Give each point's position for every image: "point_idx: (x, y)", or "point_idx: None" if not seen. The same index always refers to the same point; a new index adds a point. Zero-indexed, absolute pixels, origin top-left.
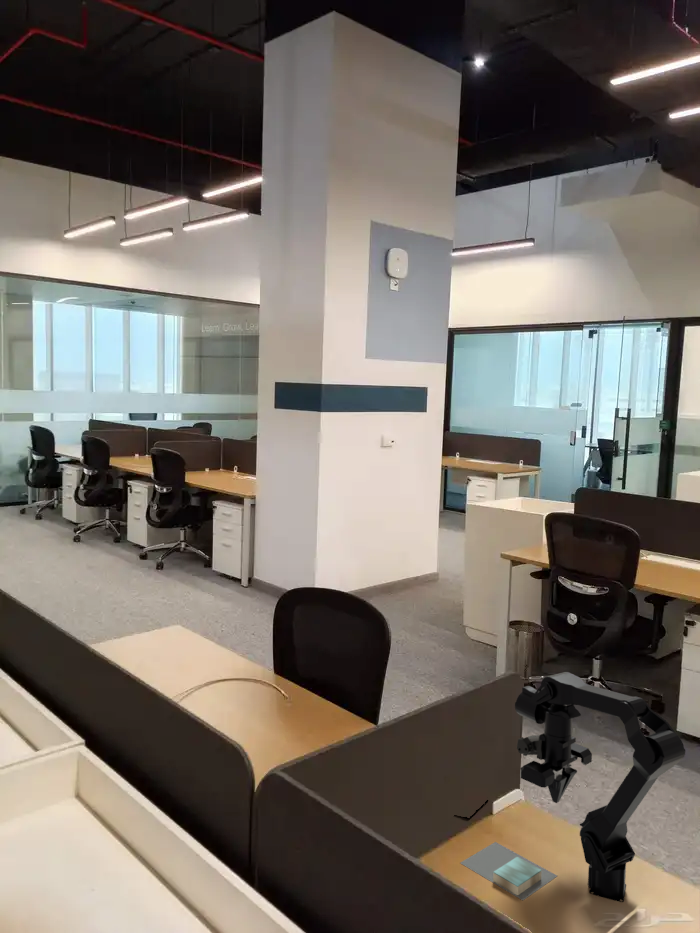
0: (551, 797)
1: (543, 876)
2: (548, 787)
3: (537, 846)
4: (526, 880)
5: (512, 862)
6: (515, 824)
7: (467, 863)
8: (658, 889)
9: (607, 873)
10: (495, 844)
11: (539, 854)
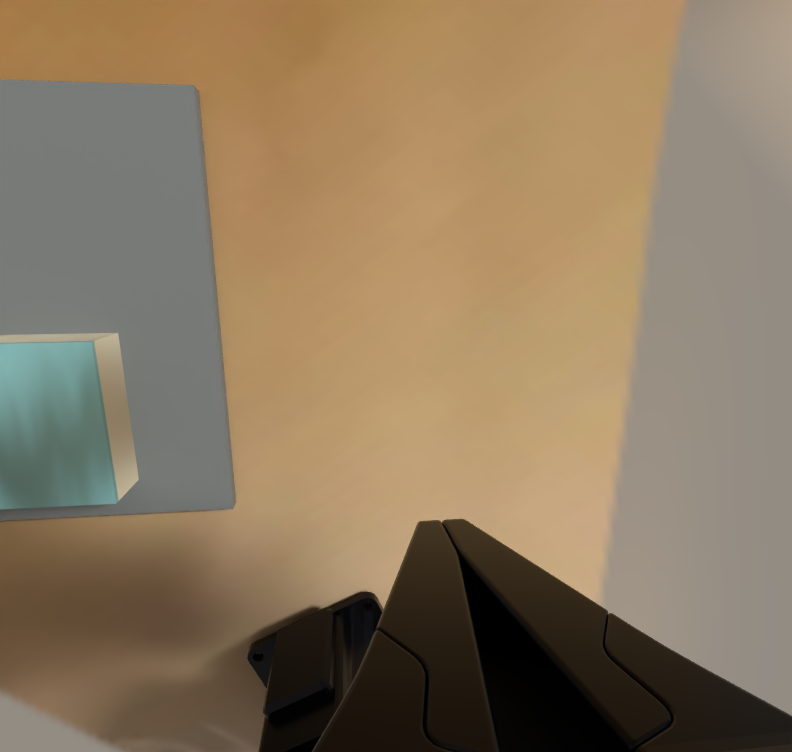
0: (412, 539)
1: (167, 472)
2: (374, 636)
3: (385, 276)
4: None
5: (15, 361)
6: (481, 36)
7: None
8: None
9: None
10: (169, 106)
11: (331, 329)
